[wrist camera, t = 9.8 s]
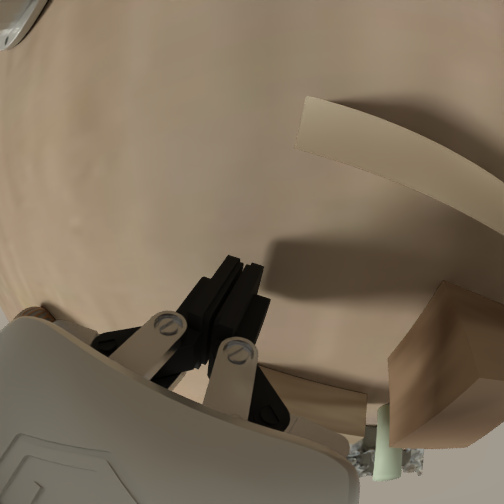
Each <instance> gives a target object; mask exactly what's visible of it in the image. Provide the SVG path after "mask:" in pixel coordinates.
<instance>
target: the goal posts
mask: <svg viewBox="0 0 504 504" xmlns="http://www.w3.org/2000/svg"><path fill="white" fill-rule="evenodd" d="M389 431H390V404H386V405H383V406H381V407H380V408H379V409H378V417H377V437H376V451H375V461H374V471H373V480H374V481H388V480H393V479H397V478H399V477H400V476H401V468H402V448H393V447H389Z"/></svg>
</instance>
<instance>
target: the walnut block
mask: <svg viewBox="0 0 504 504" xmlns="http://www.w3.org/2000/svg"><path fill="white" fill-rule="evenodd" d="M388 371H389V394H390V431H389V447H393V448H411V449H445V448H464V447H468V446H470V445H471V444H473V443H474V442H476V441H477V440H479V439H480V438H482V437H483V436H485V435H486V434H487V433H489V432H490V431H492V430H493V429H494V428H496V427H497V426H498V425H500V424H501V423H502V422H504V305H503V304H500V303H498V302H495V301H493V300H491V299H488V298H486V297H483V296H481V295H479V294H476V293H474V292H471V291H469V290H466V289H464V288H461V287H459V286H456V285H454V284H451V283H449V282H446V281H442V283H441V284H440V286H439V288H438V289H437V291H436V292H435V294H434V296H433V297H432V299H431V300H430V302H429V303H428V305H427V306H426V308H425V309H424V311H423V312H422V314H421V315H420V317H419V318H418V319H417V321H416V322H415V324H414V325H413V326H412V328H411V329H410V331H409V332H408V333H407V335H406V336H405V337H404V339H403V340H402V341H401V342H400V344H399V345H398V346H397V348H396V349H395V350H394V351H393V353H392V354H391V355H390V356H389V357H388Z"/></svg>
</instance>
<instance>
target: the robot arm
mask: <svg viewBox="0 0 504 504" xmlns="http://www.w3.org/2000/svg"><path fill="white" fill-rule="evenodd" d="M47 1H48V0H0V51H2V50H9V49H11V48H13V47H14V46H16V45H17V44H18V43H19V42H20V41H21V40H22V38H23V37H24V36H25V35H26V34H27V32H28V31H29V29H30V28H31V26H32V25H33V24H34V22H35V20H36V19H37V17H38V16H39V14H40V13H41V11H42V9H43V7H44V6H45V4H46V2H47ZM243 265H244V264H243V263H241V262H240V259H239V258H236V257H233V256H230V255H228V256H227V257H226V259H225V260H224V261H223V263H222V264H221V266H220V267H219V268H218V270H217V271H216V273H215V274H214V275H213V277H212V278H211V279H209V278H207V277H202V278H201V279H200V280H199V282H198V283H197V284H196V286H195V287H194V288H193V290H192V291H191V292H190V294H189V295H188V296H187V298H186V299H185V300H184V302H183V303H182V304H181V306H180V307H179V308H178V310H177V311H176V312H174V311H162V312H159V313H157V314H156V315H154V316H153V317H152V318H151V319H150V320H149V321H147V322H146V323H145V324H144V325H143V326H141V327H135V328H130V329H124V330H118V331H112V332H106V333H103V334H98V332H97V331H95V330H92V329H89V328H86V327H83V326H80V325H77V324H74V323H71V322H69V321H66V320H57V321H55V322H53V323H52V322H50V321H47V320H45V319H41V318H37V317H33V316H21V317H18V318H16V319H14V320H13V321H11V322H10V323H9V324H7V325H6V326H5V327H4V328H3V329H2V330H0V504H358V503H359V493H360V482H359V475H358V473H357V470H356V468H355V467H354V466H353V464H352V463H351V462H350V461H348V460H347V459H346V458H347V456H348V454H349V449H350V445H349V442H348V440H347V439H346V437H344V436H343V435H341V434H339V433H337V432H334V431H332V430H330V429H327V428H325V427H323V426H321V425H318V424H316V423H314V422H312V421H310V420H308V419H306V418H303V417H301V416H298V417H296V416H294V415H292V414H290V413H289V411H288V409H287V407H286V406H285V404H284V403H283V402H282V400H281V399H280V397H279V396H278V394H277V393H276V391H275V390H274V388H273V387H272V385H271V384H270V382H269V381H268V379H267V378H266V376H265V375H264V373H263V372H262V370H261V369H260V367H259V365H258V364H257V361H258V350H257V348H256V346H255V343H256V341H257V338H258V336H259V333H260V330H261V328H262V325H263V322H264V319H265V316H266V313H267V310H268V307H269V304H270V300H271V299H269V298H266V297H263V296H259V295H257V293H258V289H259V285H260V281H261V277H262V273H263V269H264V266H261V265H258V264H255V263H252V264H251V265H248V264H247V265H246V266H245V268H244V270H243ZM242 270H243V271H242ZM208 360H209V365H208V374H207V375H208V377H209V379H210V380H209V384H208V387H207V391H206V394H205V398H204V401H203V405H202V404H200V403H197V402H195V401H193V400H190V399H188V398H186V397H183V396H181V395H179V394H177V393H174V392H172V390H173V389H174V388H175V387H176V386H177V384H178V383H179V382H180V381H181V380H182V378H183V377H184V376H185V374H186V371H189V370H193V369H194V368H196V369H199V368H200V366H201V364H204V365H206V363H207V362H208Z"/></svg>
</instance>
